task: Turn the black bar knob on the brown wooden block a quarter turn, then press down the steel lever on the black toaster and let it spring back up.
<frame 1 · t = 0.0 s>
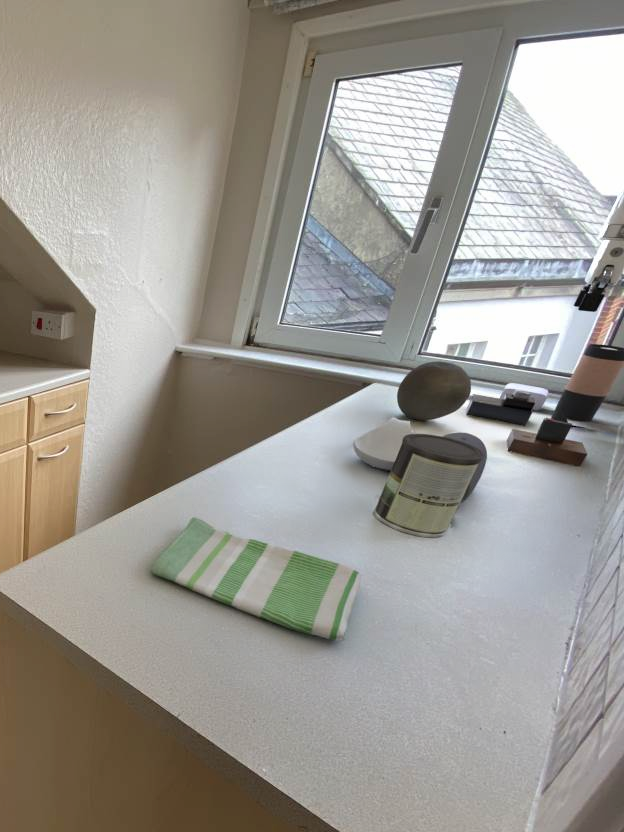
hand: (584, 309, 136), 28 cm above the counter, tool pointing down, fingers open, 9 cm apart
spoon rest: (383, 457, 118), on the counter
toaster: (494, 416, 146), on the counter
dark brown rounded piece: (420, 420, 142), on the counter
coffee can: (408, 522, 93), on the counter
travel mug: (567, 424, 144), on the counter
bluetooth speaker: (436, 494, 103), on the counter
brown wooden block: (541, 452, 124), on the counter
browning knob: (553, 430, 121), point 5 cm above the counter, hinge at 0.0°
dish towel: (252, 581, 76), on the counter
charger: (520, 402, 160), on the counter
toaster lever: (521, 395, 142), point 7 cm above the counter, slide at 0.1 cm
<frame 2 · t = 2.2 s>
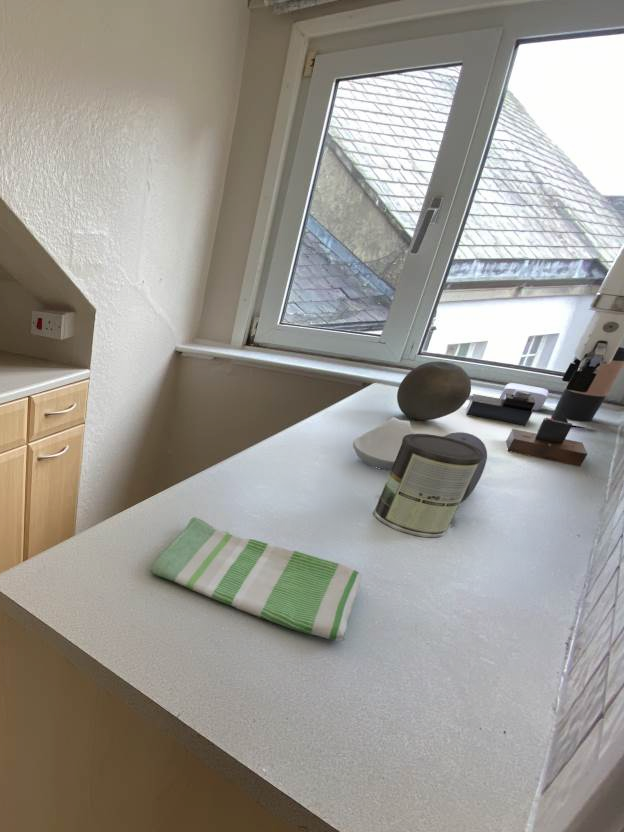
hand: (573, 386, 119), 15 cm above the counter, tool pointing down, fingers open, 9 cm apart
nothing on the counter moved.
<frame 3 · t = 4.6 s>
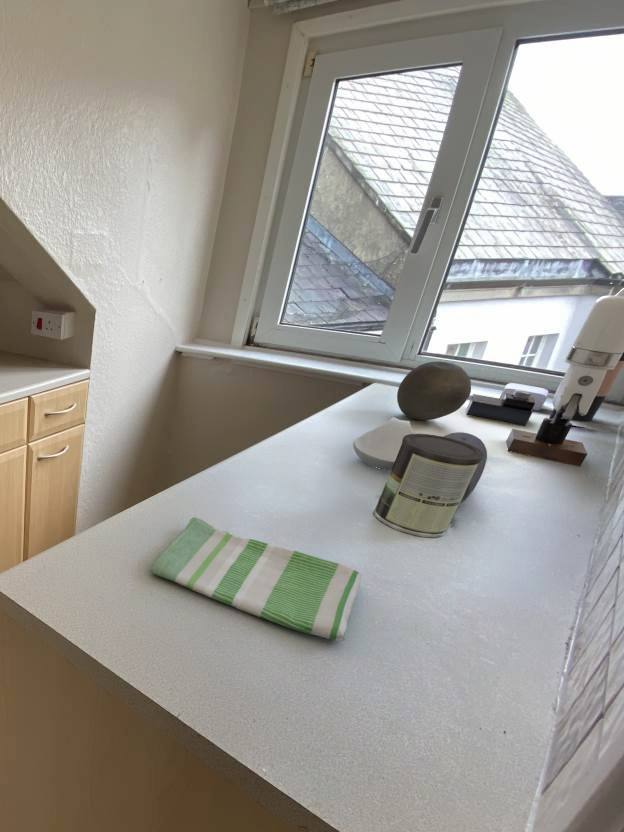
hand: (548, 439, 122), 3 cm above the counter, tool pointing down, fingers closed on browning knob
browning knob: (553, 430, 121), point 5 cm above the counter, hinge at 0.0°, touching gripper
everything else where it was.
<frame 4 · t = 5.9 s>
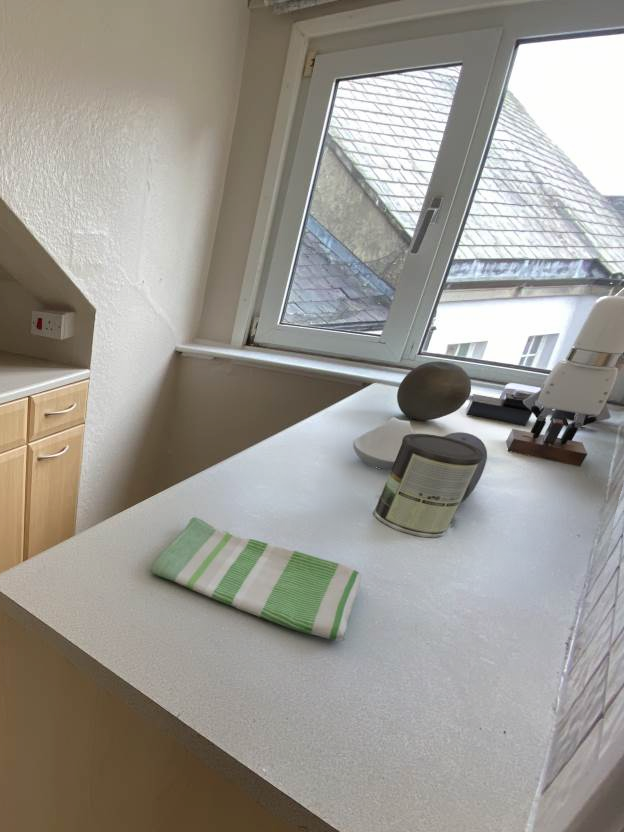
hand: (549, 438, 122), 3 cm above the counter, tool pointing down, fingers open, 4 cm apart
browning knob: (553, 430, 121), point 5 cm above the counter, hinge at 89.0°
everything else where it was.
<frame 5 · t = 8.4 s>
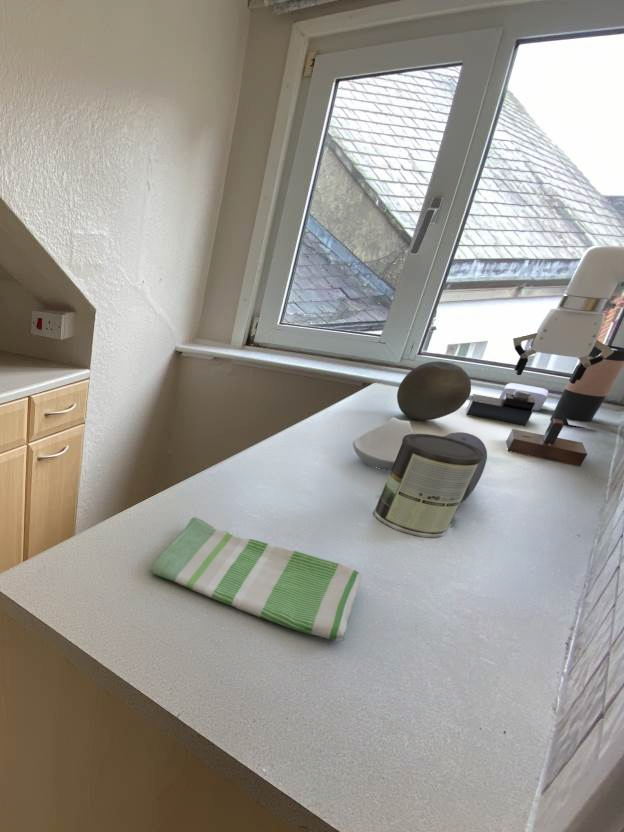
hand: (544, 378, 132), 13 cm above the counter, tool pointing down, fingers open, 9 cm apart
nothing on the counter moved.
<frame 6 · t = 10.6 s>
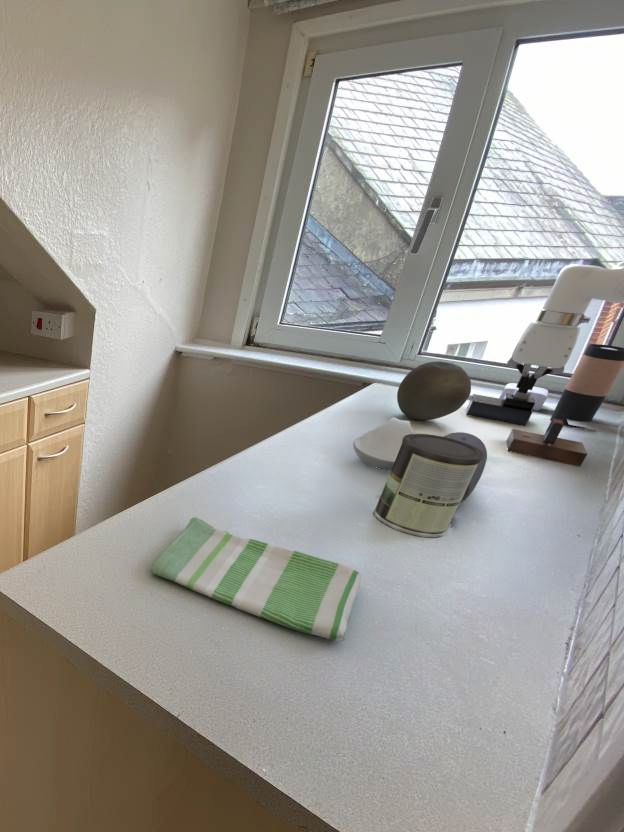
hand: (522, 391, 141), 8 cm above the counter, tool pointing down, fingers closed
toaster lever: (521, 395, 142), point 7 cm above the counter, slide at 0.1 cm, touching gripper
everything else where it was.
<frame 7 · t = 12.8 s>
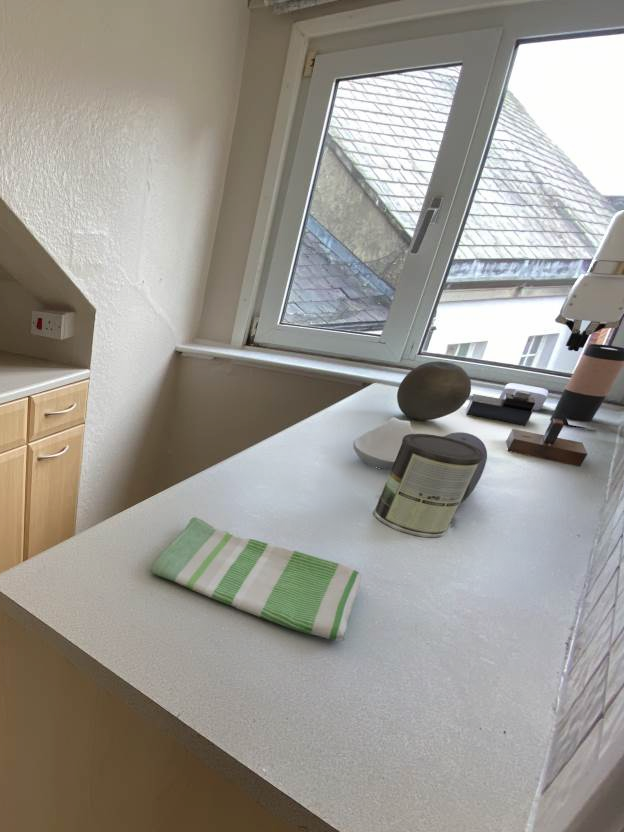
hand: (572, 349, 133), 19 cm above the counter, tool pointing down, fingers closed
toaster lever: (521, 395, 142), point 7 cm above the counter, slide at 0.1 cm
everything else where it was.
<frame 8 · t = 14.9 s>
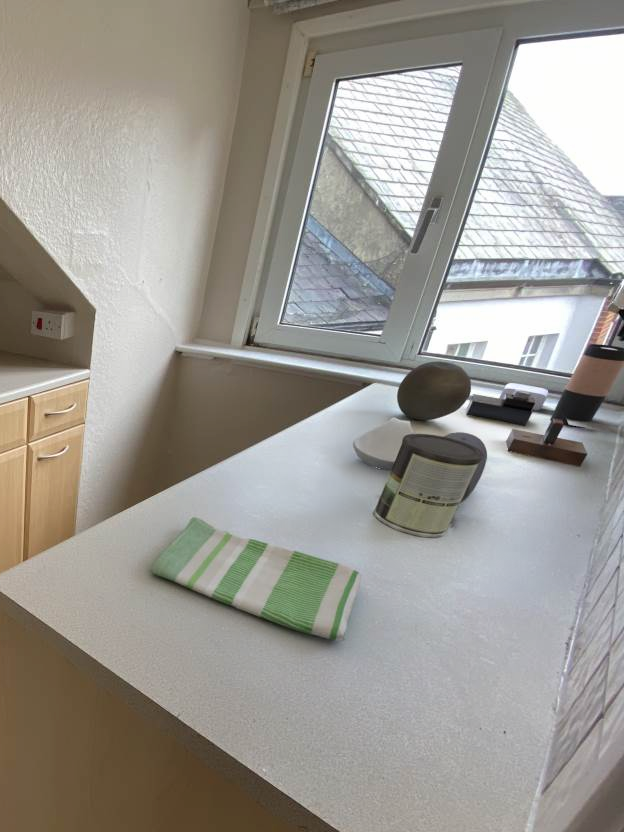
hand: (623, 340, 126), 23 cm above the counter, tool pointing down, fingers closed
nothing on the counter moved.
at the end: browning knob at +89° (first picture: +0°); toaster lever pushed in 1.3 cm at the most during the clip, back to where it started at the end; toaster lever slide at 0.1 cm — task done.
